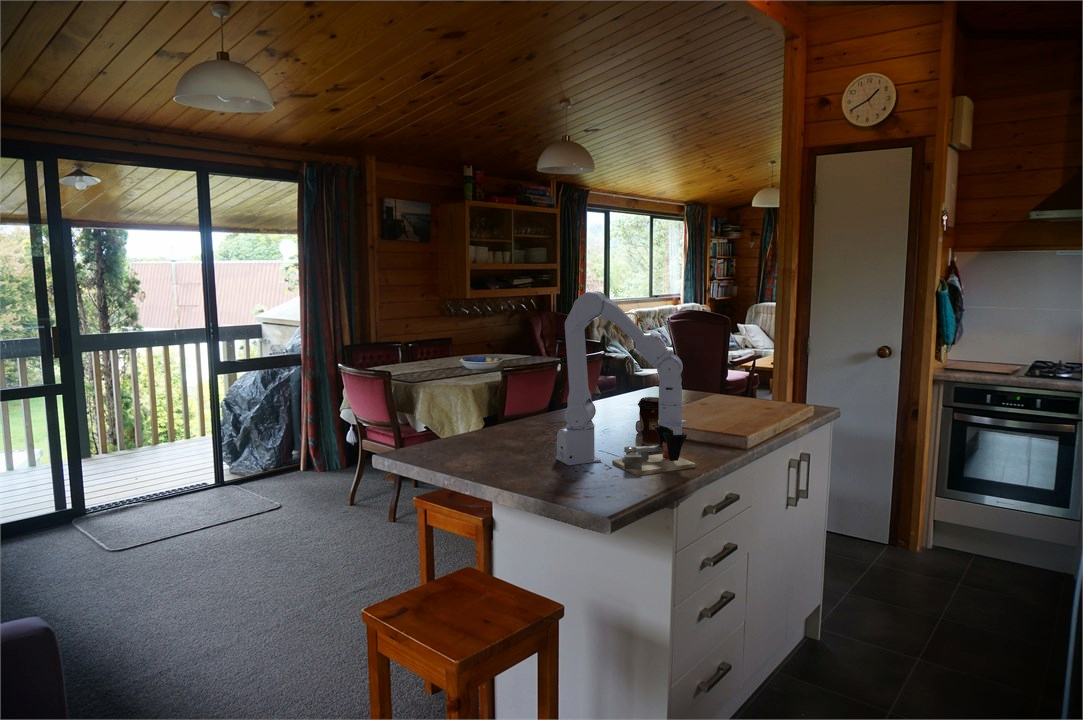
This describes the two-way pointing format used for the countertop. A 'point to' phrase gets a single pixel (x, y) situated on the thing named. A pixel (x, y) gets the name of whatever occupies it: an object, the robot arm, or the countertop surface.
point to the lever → (648, 450)
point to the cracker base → (650, 464)
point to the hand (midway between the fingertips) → (669, 456)
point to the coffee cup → (649, 420)
